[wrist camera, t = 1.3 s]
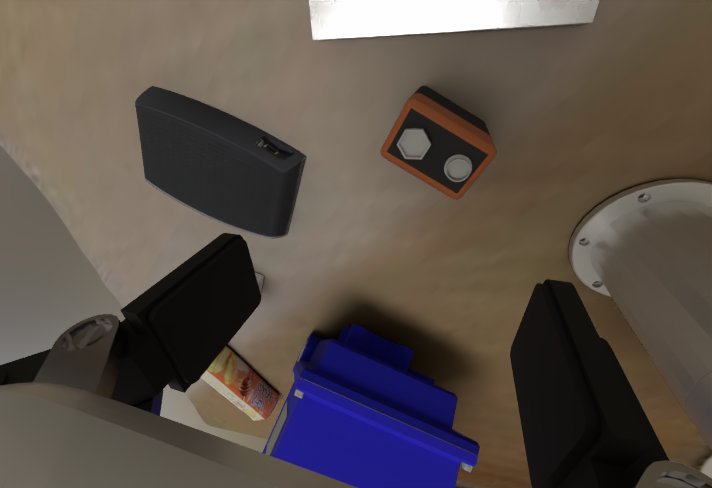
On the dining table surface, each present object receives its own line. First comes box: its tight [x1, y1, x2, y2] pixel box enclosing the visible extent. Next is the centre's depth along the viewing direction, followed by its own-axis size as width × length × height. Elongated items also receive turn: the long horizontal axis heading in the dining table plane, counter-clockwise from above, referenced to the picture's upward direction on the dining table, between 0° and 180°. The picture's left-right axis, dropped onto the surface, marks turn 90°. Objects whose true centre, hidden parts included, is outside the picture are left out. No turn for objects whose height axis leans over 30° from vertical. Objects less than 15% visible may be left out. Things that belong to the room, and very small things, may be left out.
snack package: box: [200, 346, 278, 421], centre depth 60 cm, size 21×7×7 cm, turn 35°
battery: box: [381, 86, 497, 199], centre depth 23 cm, size 4×7×10 cm, turn 64°
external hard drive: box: [135, 86, 306, 239], centre depth 35 cm, size 13×19×4 cm
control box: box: [263, 324, 480, 488], centre depth 38 cm, size 26×27×30 cm
